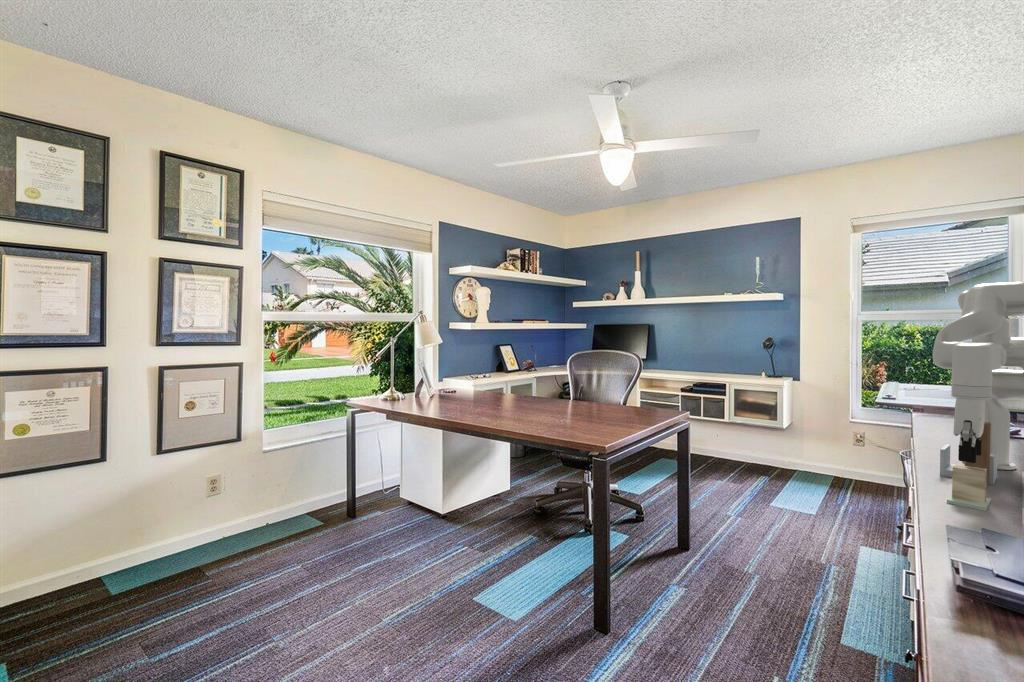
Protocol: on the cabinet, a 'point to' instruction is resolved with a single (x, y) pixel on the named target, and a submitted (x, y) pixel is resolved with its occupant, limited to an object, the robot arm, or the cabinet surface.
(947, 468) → the slot guard
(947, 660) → the cabinet surface
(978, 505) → the mat
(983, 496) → the beech block
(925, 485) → the cabinet surface
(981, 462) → the wooden block
